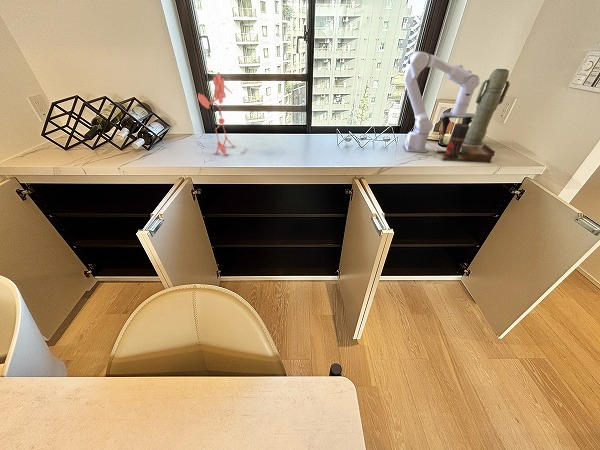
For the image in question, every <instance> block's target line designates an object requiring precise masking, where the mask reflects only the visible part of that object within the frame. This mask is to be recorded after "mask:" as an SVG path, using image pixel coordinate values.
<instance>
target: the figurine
mask: <svg viewBox="0 0 600 450" xmlns="http://www.w3.org/2000/svg"><path fill="white" fill-rule="evenodd" d="M215 76H216V77H215ZM215 76H213V78H212V80H213V84H214V93H213V97H212V99H211V100H210V101H209V100H208V98H207V97H206V96H205V95H204V94H202V93H200V92H198V93H197V98H198V101H199V103H200V104H201V105H202V106H203V107H204V108H206V109H208V110H209V109H210V105H211V104H212V103H213V104H214V105H215V106H216V107H217V108H218V109H219V114H220V117H219V119H218V123H219V124H218V125H217V127H215V134H216V137H217V140H218V141H217V143H216V145H217V147H216V151H215V154H216V155H217V154H218V152H219V150H220V152H221V153H222V154H223V155H225V156H227V150H226V147H225V144H226V141H227V142H228V143H229V144H230V145H231V146H232V147H234V145H233V143H232V142H231V141H230V140H229V138H228V136H227V133H226V130H225V126H224V124H225V119H224V118H223V114H222V109H221V107H220V106H219V105H218V104H217V103H216V102H217V101H218V103H219V104H220V105H222V104H223V102H224V99H225V98H226V92H225V89H226V90H227V91H228V92H229V93H230V94H233V92H232V91H231V90H230V89H229V88H228V87H227V86H226V85H225V79H224V77H221V73H220V72H217V73H216V75H215ZM221 125H222V128H223V133H224V141H223V144H222V143H221V141H220V139H219V135H218V131H217V129H219V127H220V126H221ZM246 151H248V148H246ZM243 154H244V152H243V153H240V154H239V155H240V156H241V155H243ZM209 158H210V159H212V156H211V157H209Z"/></svg>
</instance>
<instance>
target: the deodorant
mask: <svg viewBox="0 0 600 450" xmlns="http://www.w3.org/2000/svg"><path fill="white" fill-rule="evenodd" d="M469 127H470V124H469V125H467V124H462V122H461V123H455V124H454V126H453V129H452V131H451V135H450V137H449V141H448V143H447V147H446V148H445V151H446V152H445V153H443V155H444V156H443V157H446V158H459V155H460V154H459V152H461V150H462V146H463V144H464V139H465V137H466V134H467V132H468V129H469Z"/></svg>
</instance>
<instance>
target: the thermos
mask: <svg viewBox="0 0 600 450" xmlns="http://www.w3.org/2000/svg"><path fill="white" fill-rule="evenodd" d="M509 74H510V70H509V69H506V68H496V69H494V70H493V71H492V72H491V73H490V75H489V77H488V79H485V80H484V81H483V82H482V83H481V85H480V88H479V90H478V93H477V95H476V98H475V104H476V110H475V112H474V114H475V118H474V119H472V122H471V123H470V124H469V129H468V132H467V134H466V137H465V139H464V142H463V144H466V145H469V146H481V145H482V142H483V140H485V136H486V134H487V133H488V132H487V131H488V127H489V124H490V122H491V119H492V117H493V115H494V113H495V111H496V110H497V108H498V106H499V105H501V104H502V103H503V101H504V99H505V97H506V95H507V92H508V90H509V87H510V85H511V84H510V81H509V80H508V79H509Z"/></svg>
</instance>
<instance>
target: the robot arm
mask: <svg viewBox="0 0 600 450" xmlns="http://www.w3.org/2000/svg"><path fill="white" fill-rule="evenodd" d="M432 67H433V68H434V69H437V70H439V71H441V72H442V73H445V74H446V78H447V80H449V81H451V82H453V83H455V84H456V85H459V86H460V87H459V91H458V94H457V97H456V100H455V103H454V106H453V109H452V112H451V111H450V112H441V114H440V118H441V120H442V134H444V135H445V134H446V133H447V131H448V127H449V124H450V122H451V119H462V121H461V124H467V125H469V126H470V125H471V122H472V120H473V119H474V118H475V113H469V112H468V108H469V106H470V103H471V101H472V98H473V95H474V92H475V89H476V88H478V87H479V85H480V83H481V82H480V77H479V76H478V75H477V74H474V73H473V71H472V70H471V69H470V70H467V69H466V68H464V65H463V64H455V65H451V64H449V63H448V62H446V61H445V60H443V59H441V58H440V57H438V56H436V55H434V54H431V53H427V52H426V51H421V50H415V51H414V52H412V53H411V54H410V56H409V57H408V60H407V61H406V67H405V71H404V75H403V81H404V85H405V88H406V91H407V94H408V97H409V101H410V104H411V107H412V110H413V114H414V119H415V120H414V126H415V128H414V129H413V131H408V133H407V136H406V140H405V144H404V148H405V150H406V151H407V152H415V153H427V149H426V148H425V147H426V144H427V141H428V138H429V135H430V132H431V131H432V130H433V126H434V125H433V124H434V123H433V122H432V121H431V120H430V119H429V115H428V113H427V111H426V107H425V105H424V101H423V97H422V94H421V91H420V87H419V83H418V80H417V79H418V77H419V75H420V73H421V72H422V71H423V70H424V69H425V68H432Z"/></svg>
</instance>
